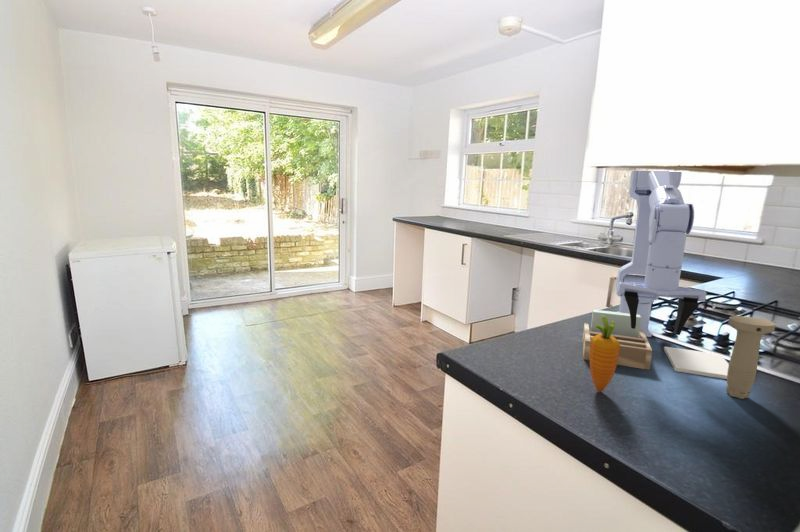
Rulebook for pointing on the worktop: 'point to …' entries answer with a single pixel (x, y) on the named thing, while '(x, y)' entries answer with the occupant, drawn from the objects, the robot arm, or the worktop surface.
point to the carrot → (603, 355)
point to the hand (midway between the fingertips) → (654, 330)
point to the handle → (745, 353)
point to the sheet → (616, 322)
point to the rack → (624, 349)
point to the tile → (697, 362)
